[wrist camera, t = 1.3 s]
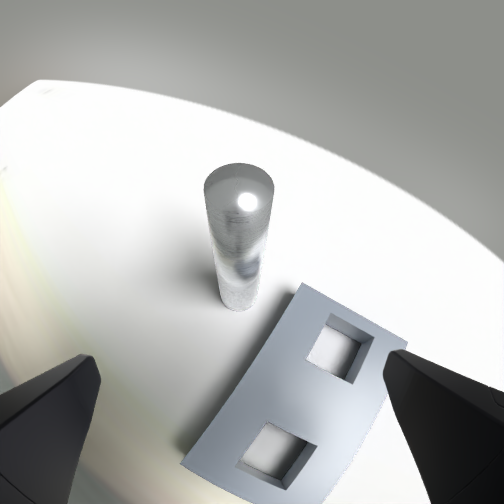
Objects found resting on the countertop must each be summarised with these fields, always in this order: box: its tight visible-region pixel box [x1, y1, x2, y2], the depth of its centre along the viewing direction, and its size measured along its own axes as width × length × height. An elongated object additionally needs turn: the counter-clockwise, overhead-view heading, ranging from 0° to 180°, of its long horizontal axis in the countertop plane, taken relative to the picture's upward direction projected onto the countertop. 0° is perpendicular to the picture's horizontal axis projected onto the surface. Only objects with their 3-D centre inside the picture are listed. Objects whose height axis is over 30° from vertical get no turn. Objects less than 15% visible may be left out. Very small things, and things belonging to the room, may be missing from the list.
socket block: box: [180, 283, 408, 504], centre depth 17 cm, size 16×10×2 cm, turn 148°
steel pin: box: [204, 163, 274, 311], centre depth 17 cm, size 3×3×12 cm
